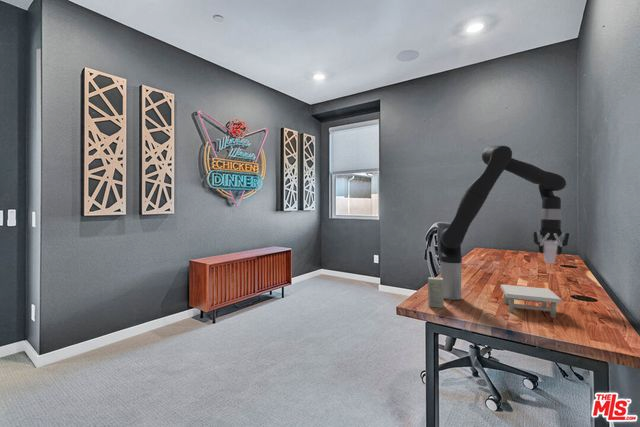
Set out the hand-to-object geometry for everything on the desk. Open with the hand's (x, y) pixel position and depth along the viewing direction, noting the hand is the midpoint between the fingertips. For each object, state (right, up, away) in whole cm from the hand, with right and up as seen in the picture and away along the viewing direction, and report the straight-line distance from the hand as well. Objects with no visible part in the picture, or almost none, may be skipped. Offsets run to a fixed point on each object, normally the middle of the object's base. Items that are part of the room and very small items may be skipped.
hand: (549, 253), depth 143 cm
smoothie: (0, -4, 0) cm, 4 cm away
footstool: (-21, -22, -15) cm, 34 cm away
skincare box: (-58, -22, -11) cm, 63 cm away
